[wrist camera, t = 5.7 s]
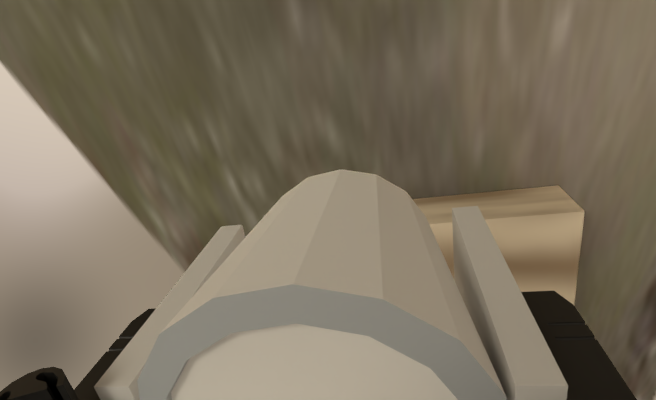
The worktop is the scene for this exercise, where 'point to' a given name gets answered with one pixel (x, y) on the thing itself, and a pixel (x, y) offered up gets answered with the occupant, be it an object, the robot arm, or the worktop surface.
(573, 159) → the worktop surface
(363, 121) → the worktop surface
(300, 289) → the tapered cream cylinder
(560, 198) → the birch stand
